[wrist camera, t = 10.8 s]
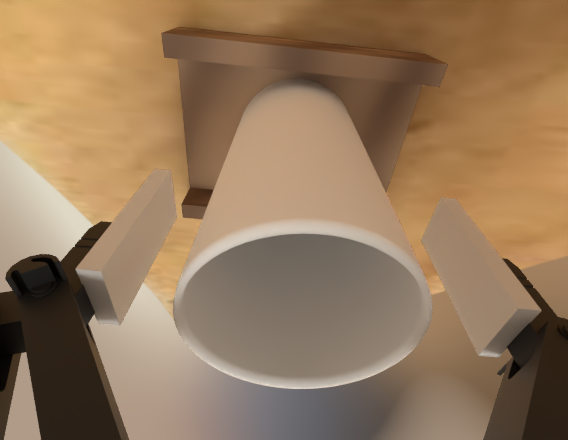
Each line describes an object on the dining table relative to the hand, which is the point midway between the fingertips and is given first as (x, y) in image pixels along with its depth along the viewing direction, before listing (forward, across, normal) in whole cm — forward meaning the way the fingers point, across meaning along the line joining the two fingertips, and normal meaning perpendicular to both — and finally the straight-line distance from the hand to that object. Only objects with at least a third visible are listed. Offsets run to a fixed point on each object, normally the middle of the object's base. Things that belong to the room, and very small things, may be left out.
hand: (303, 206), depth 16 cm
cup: (+9, 0, 0) cm, 9 cm away
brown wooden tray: (+10, 0, 0) cm, 10 cm away
